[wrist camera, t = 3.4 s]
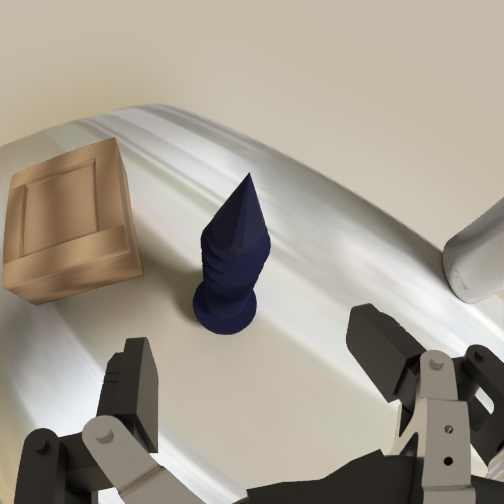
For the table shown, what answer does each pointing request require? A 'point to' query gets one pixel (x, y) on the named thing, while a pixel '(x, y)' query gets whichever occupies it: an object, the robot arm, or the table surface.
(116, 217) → the plinth
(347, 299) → the table surface
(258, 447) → the table surface
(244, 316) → the screw
